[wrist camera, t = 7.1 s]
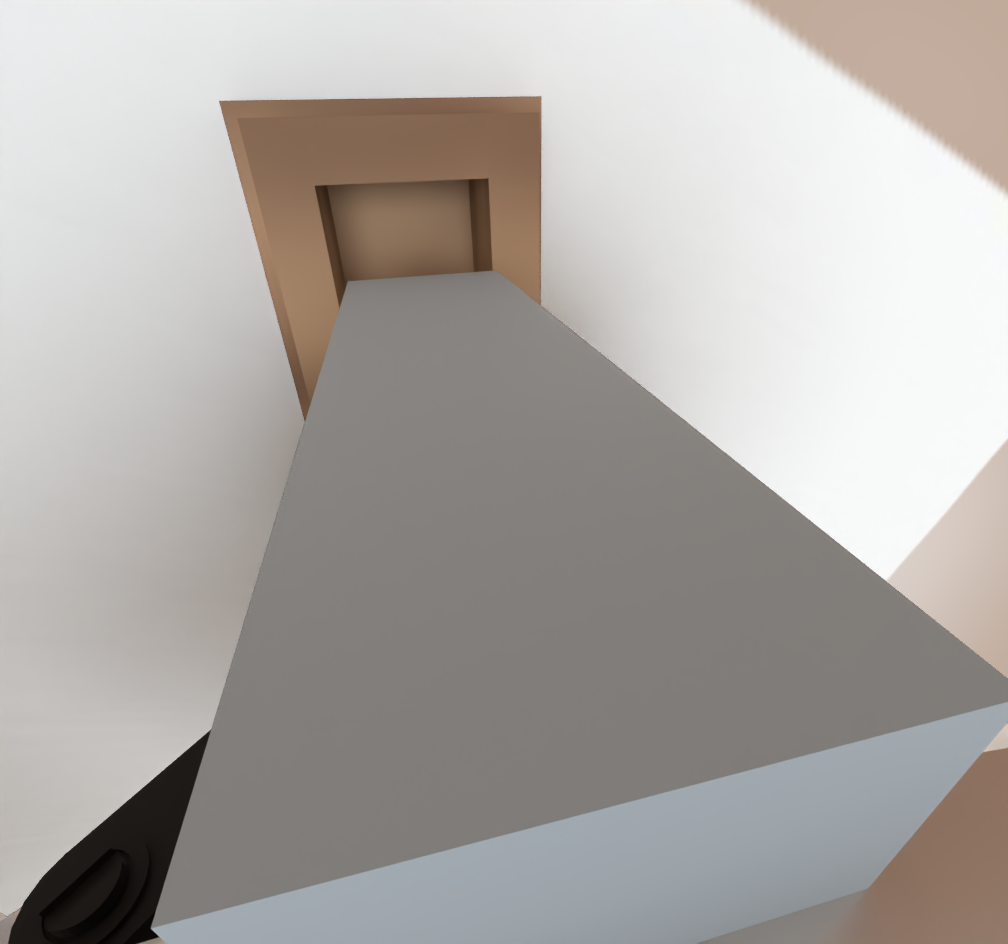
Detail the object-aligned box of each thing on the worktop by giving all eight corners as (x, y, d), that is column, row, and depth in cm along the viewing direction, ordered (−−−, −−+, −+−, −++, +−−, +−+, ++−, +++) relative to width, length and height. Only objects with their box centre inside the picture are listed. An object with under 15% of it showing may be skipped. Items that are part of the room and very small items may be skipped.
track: (533, 542, 22) (561, 606, 19) (351, 573, 21) (346, 648, 18) (531, 101, 14) (579, 77, 11) (229, 105, 13) (176, 79, 9)
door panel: (508, 588, 15) (676, 1118, 7) (408, 606, 14) (449, 1204, 6) (496, 270, 10) (1029, 697, 2) (348, 280, 10) (149, 932, 1)
